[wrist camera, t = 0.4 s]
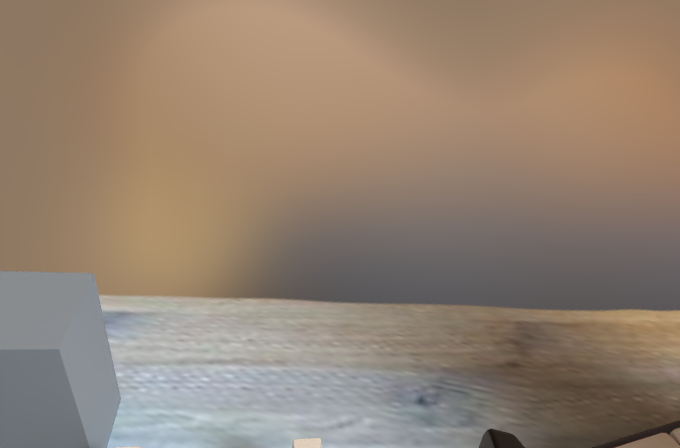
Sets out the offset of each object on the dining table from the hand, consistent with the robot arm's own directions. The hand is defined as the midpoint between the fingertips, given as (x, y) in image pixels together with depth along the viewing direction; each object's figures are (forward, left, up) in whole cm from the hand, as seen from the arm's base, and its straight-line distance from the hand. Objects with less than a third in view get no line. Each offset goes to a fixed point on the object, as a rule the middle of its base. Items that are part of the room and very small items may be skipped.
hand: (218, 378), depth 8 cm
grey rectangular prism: (+4, +11, -16) cm, 20 cm away
